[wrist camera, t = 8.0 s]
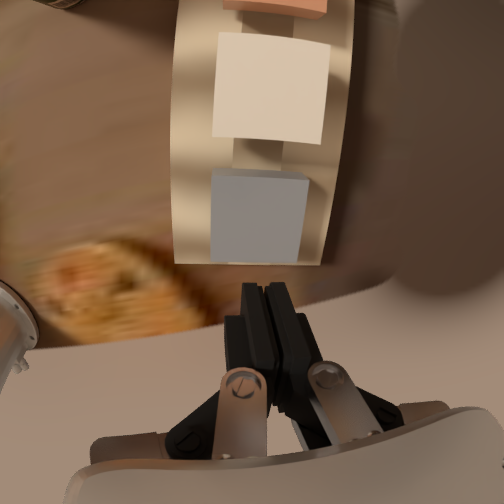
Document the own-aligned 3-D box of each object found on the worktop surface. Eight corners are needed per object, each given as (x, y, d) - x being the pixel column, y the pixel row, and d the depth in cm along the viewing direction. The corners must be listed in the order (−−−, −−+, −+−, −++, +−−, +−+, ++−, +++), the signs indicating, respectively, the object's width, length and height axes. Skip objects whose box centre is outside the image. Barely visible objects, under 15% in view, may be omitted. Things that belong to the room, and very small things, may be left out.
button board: (310, 247, 27) (319, 265, 24) (179, 245, 25) (174, 263, 23) (340, -35, 13) (354, -47, 11) (194, -52, 12) (190, -68, 9)
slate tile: (286, 238, 24) (296, 262, 20) (212, 236, 23) (210, 261, 20) (296, 166, 21) (309, 180, 17) (213, 162, 20) (211, 175, 17)
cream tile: (303, 135, 18) (320, 144, 15) (214, 130, 18) (211, 137, 15) (311, 53, 15) (330, 45, 12) (219, 44, 15) (218, 32, 12)
